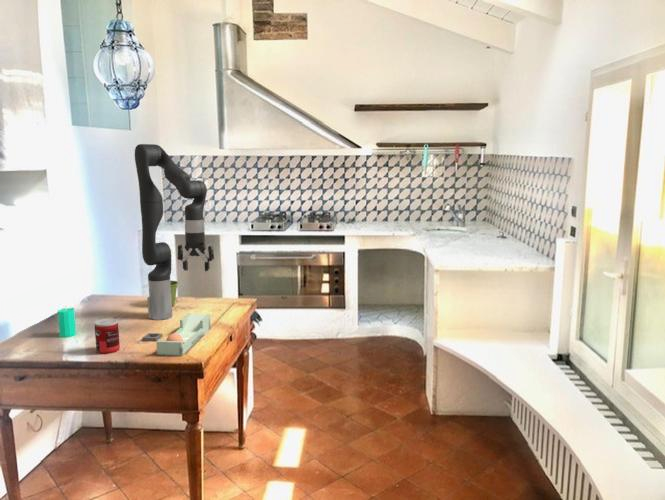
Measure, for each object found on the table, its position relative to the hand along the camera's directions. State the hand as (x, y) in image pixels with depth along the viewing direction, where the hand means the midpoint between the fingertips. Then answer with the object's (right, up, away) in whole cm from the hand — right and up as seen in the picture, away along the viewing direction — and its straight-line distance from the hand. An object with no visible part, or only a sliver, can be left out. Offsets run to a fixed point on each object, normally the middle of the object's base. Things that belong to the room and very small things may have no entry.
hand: (196, 270), depth 212 cm
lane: (-1, -27, -10) cm, 29 cm away
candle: (-50, -26, -3) cm, 57 cm away
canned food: (-27, -29, -20) cm, 44 cm away
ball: (-2, -25, -21) cm, 33 cm away
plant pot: (-24, -19, +39) cm, 50 cm away
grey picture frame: (-15, -26, -7) cm, 31 cm away
